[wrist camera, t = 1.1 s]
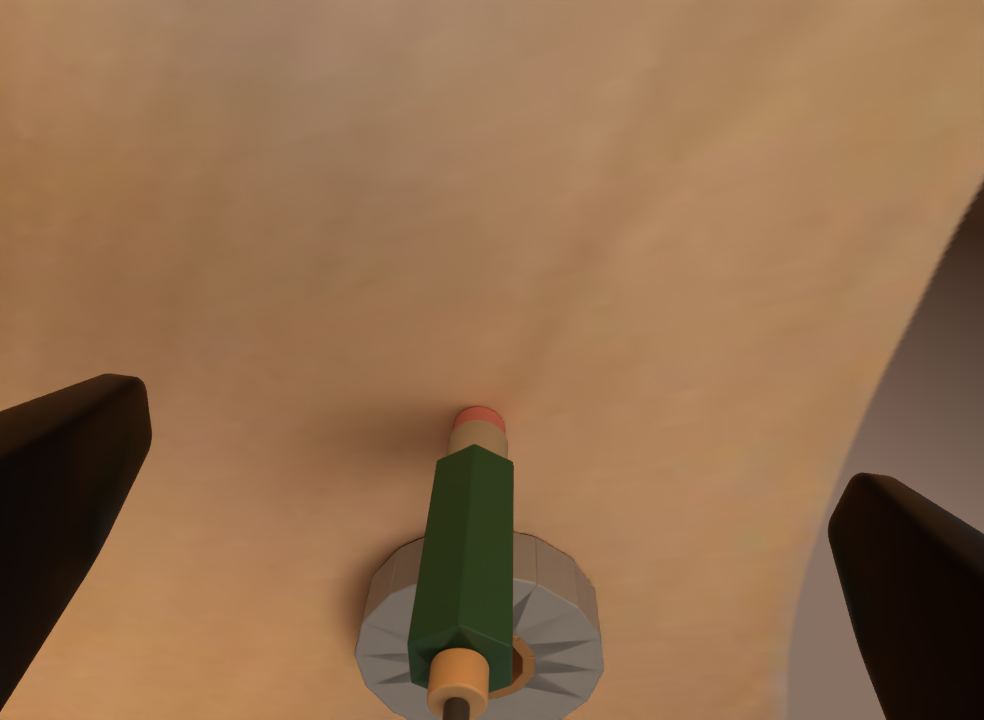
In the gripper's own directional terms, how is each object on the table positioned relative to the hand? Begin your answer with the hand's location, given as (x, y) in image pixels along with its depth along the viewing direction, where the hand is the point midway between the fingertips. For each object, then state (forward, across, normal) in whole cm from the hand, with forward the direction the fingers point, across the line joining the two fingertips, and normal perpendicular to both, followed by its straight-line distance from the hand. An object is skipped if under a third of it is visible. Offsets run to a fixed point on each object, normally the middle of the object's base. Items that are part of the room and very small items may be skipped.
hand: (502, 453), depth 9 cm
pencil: (+14, 0, +9) cm, 16 cm away
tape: (+14, -2, +19) cm, 23 cm away
